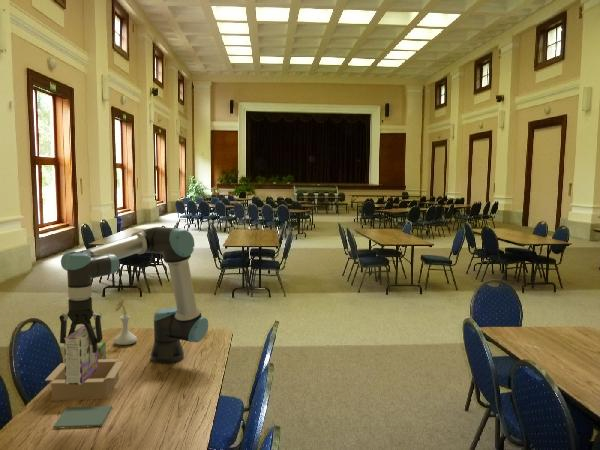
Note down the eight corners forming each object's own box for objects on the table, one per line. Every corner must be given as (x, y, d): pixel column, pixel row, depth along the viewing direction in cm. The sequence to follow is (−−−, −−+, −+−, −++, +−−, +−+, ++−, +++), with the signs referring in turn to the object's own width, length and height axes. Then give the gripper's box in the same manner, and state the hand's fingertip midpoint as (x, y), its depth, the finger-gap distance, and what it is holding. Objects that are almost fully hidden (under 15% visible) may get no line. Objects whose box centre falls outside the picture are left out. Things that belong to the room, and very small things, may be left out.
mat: (112, 407, 189) (112, 405, 189) (101, 426, 175) (101, 424, 175) (67, 409, 187) (67, 407, 187) (53, 428, 173) (53, 426, 173)
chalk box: (101, 374, 219) (100, 341, 218) (79, 374, 218) (78, 341, 217) (107, 366, 228) (106, 334, 227) (85, 366, 227) (84, 334, 226)
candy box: (83, 368, 186) (81, 325, 184) (98, 369, 186) (97, 325, 184) (64, 384, 172) (63, 337, 171) (81, 385, 172) (80, 338, 171)
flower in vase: (116, 339, 263) (115, 292, 261) (139, 339, 265) (138, 292, 262) (110, 348, 251) (109, 299, 248) (134, 347, 252) (132, 298, 249)
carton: (126, 376, 217) (125, 358, 216) (112, 401, 194) (111, 381, 193) (64, 378, 214) (63, 360, 213) (42, 403, 191) (41, 383, 190)
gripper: (111, 294, 181) (113, 357, 183) (55, 295, 179) (57, 358, 181) (105, 300, 174) (107, 365, 176) (46, 300, 171) (49, 366, 174)
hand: (82, 361), depth 179 cm, fingers closed on candy box, 6 cm apart
